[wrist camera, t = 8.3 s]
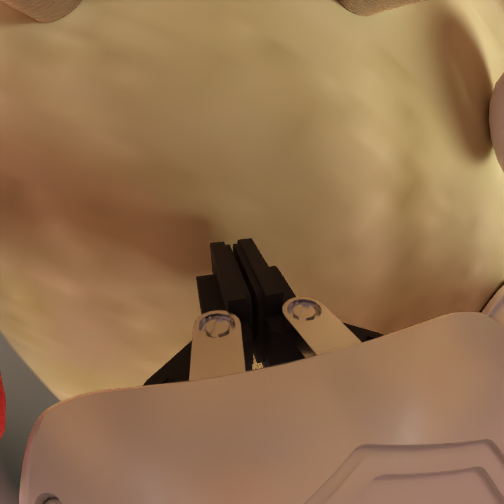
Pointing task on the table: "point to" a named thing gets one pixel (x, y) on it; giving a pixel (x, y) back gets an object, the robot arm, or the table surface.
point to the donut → (497, 120)
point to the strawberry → (2, 408)
